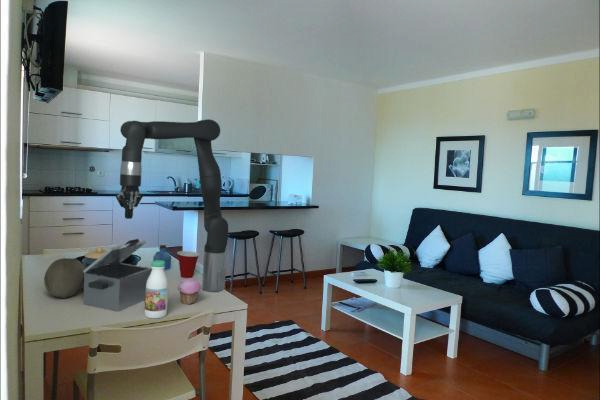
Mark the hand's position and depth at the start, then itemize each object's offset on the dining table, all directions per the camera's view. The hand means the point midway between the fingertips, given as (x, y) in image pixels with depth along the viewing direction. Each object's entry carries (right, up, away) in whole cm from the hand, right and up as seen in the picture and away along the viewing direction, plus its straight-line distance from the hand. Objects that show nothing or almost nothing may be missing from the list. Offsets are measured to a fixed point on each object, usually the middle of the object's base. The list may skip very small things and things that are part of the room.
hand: (128, 218), depth 159 cm
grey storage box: (-6, -33, +2) cm, 33 cm away
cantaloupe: (-27, -31, +4) cm, 41 cm away
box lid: (-5, -15, +2) cm, 15 cm away
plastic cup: (+11, -31, +43) cm, 54 cm away
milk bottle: (+13, -35, -9) cm, 39 cm away
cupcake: (+21, -35, +7) cm, 41 cm away
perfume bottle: (-6, -29, +55) cm, 62 cm away
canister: (-20, -30, +17) cm, 40 cm away
